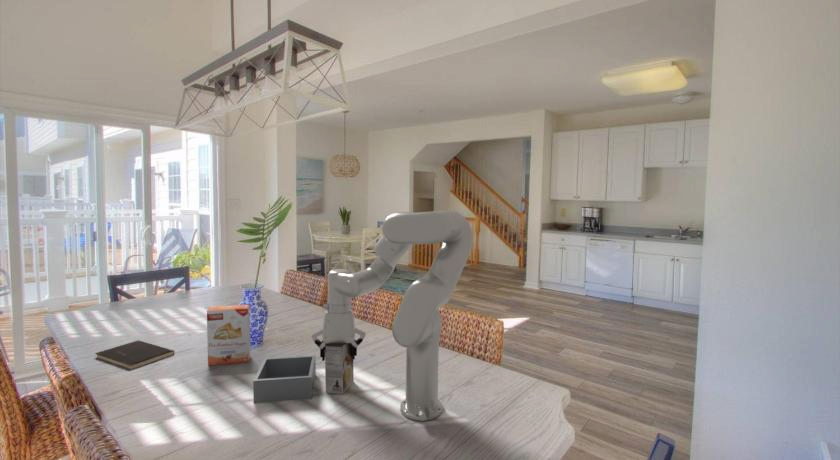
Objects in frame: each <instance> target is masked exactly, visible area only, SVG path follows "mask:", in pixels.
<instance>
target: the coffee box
mask: <svg viewBox="0 0 840 460" xmlns="http://www.w3.org/2000/svg"><path fill="white" fill-rule="evenodd" d="M324 364H325V365H324V369H325V372H324V373H325V379H324V380H325V381H324V382H325V393H329V394H330V393H331V394H339V395H344V394H345V393H346V392H347V391H348V389H349V388H350V386H351V385H352V384H353V383H354V380H355V379H354V360H353V359H352V344H351V343H348V344H347V343H329V344H325V360H324Z"/></svg>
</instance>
